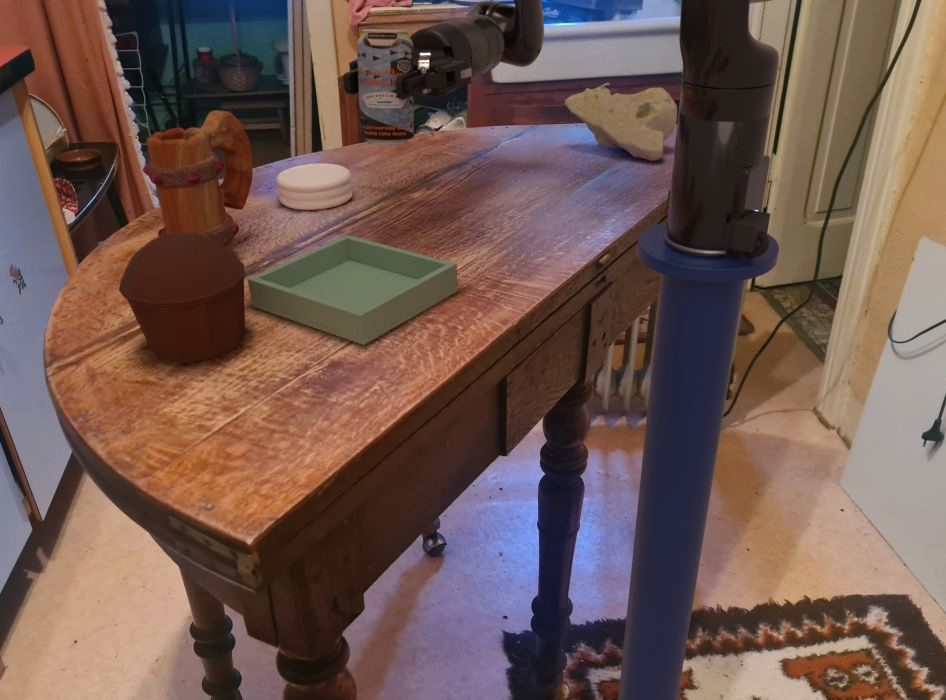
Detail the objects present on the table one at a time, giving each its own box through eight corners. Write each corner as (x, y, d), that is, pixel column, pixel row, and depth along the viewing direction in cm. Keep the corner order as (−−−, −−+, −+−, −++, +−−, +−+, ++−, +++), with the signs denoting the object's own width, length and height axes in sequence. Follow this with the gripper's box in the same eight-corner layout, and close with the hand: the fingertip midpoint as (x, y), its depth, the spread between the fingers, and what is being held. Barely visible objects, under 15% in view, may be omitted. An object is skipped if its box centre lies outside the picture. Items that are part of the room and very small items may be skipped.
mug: (201, 280, 94) (170, 140, 86) (148, 267, 98) (113, 132, 89) (286, 236, 105) (265, 108, 96) (236, 226, 108) (212, 102, 100)
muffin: (260, 360, 78) (240, 256, 73) (134, 378, 76) (103, 273, 71) (253, 307, 88) (235, 212, 82) (141, 322, 86) (114, 226, 80)
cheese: (692, 167, 129) (662, 86, 133) (692, 141, 122) (661, 55, 126) (594, 202, 132) (568, 121, 136) (589, 177, 125) (562, 93, 129)
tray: (458, 291, 90) (456, 263, 88) (363, 345, 80) (360, 315, 79) (350, 260, 98) (346, 234, 96) (252, 306, 88) (247, 278, 86)
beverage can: (355, 152, 94) (341, 33, 88) (372, 134, 100) (361, 22, 94) (410, 153, 93) (401, 33, 87) (424, 135, 99) (417, 21, 92)
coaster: (269, 195, 118) (265, 170, 116) (337, 183, 122) (333, 158, 120) (294, 216, 111) (290, 189, 109) (364, 202, 115) (362, 175, 113)
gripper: (393, 20, 104) (312, 45, 92) (500, 25, 99) (429, 52, 86) (398, 85, 108) (322, 117, 96) (501, 93, 103) (433, 128, 91)
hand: (373, 86), depth 91 cm, fingers closed on beverage can, 6 cm apart
